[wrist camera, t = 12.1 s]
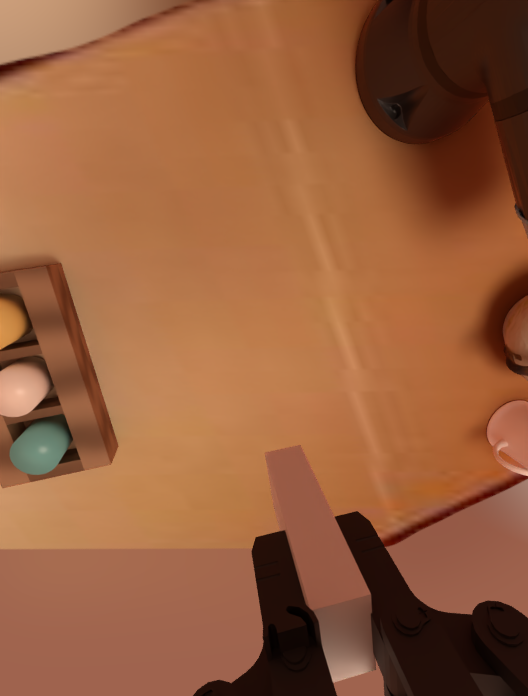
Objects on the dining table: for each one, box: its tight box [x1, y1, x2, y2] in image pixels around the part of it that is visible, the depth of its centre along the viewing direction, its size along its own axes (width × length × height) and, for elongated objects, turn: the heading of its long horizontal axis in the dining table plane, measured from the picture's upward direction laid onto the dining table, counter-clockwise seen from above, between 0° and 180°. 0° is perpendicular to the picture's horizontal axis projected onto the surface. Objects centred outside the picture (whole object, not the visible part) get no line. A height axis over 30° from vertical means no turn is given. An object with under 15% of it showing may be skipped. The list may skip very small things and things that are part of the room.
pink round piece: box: [0, 356, 54, 417], centre depth 38 cm, size 5×5×5 cm
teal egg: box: [10, 414, 73, 475], centre depth 40 cm, size 5×5×5 cm
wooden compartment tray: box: [0, 264, 118, 488], centre depth 40 cm, size 23×12×4 cm, turn 8°
